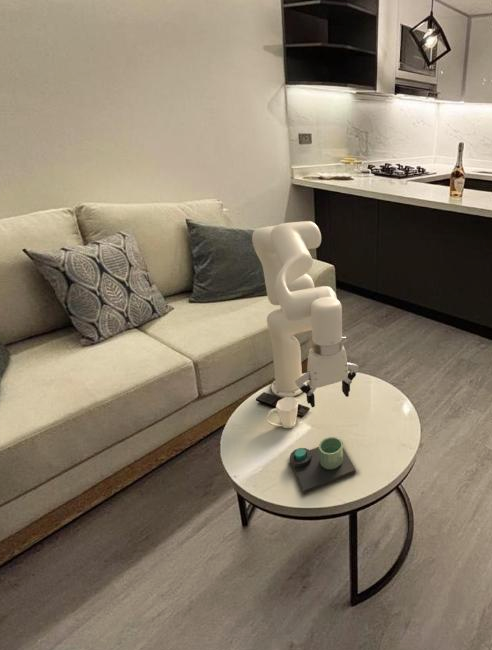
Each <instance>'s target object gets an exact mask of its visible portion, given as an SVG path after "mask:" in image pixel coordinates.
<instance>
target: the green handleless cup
mask: <svg viewBox="0 0 492 650" xmlns="http://www.w3.org/2000/svg"><path fill="white" fill-rule="evenodd" d="M318 447H319V462H320V464H321V466H322V467H324V468H326V469H335V468H337V467H339V466H340V465H341V464H342V462H343V448H344V443H343V441H342V440H341V439H340V438H339V437H335V436H328V437H325V438H324V439H322V440H321V441H320V442H319V444H318Z"/></svg>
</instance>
